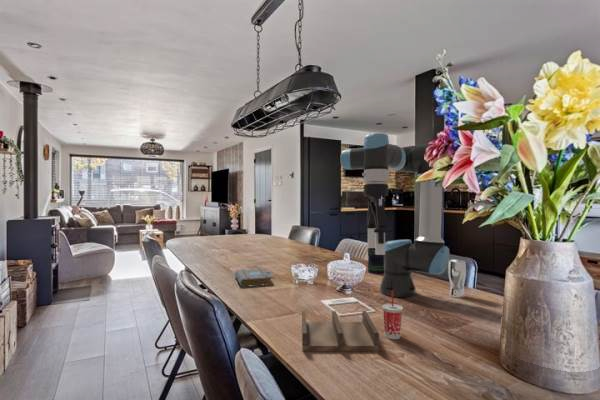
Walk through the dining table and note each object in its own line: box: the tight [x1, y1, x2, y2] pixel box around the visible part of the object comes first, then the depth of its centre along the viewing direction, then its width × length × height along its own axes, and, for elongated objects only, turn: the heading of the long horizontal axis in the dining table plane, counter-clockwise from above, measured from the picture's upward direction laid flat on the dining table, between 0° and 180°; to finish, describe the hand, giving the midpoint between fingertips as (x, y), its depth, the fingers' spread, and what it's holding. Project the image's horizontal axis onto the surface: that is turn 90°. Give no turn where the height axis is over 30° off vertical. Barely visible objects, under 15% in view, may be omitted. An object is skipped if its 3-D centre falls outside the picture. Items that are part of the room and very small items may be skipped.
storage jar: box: [367, 247, 384, 275], centre depth 192 cm, size 10×10×15 cm
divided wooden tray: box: [301, 310, 380, 352], centre depth 103 cm, size 21×18×5 cm
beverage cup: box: [381, 290, 404, 340], centre depth 104 cm, size 6×6×14 cm
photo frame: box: [320, 296, 376, 318], centre depth 132 cm, size 15×1×18 cm
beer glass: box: [447, 258, 467, 299], centre depth 146 cm, size 7×7×15 cm
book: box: [234, 267, 274, 287], centre depth 173 cm, size 21×16×5 cm
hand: (375, 251), depth 108 cm, fingers open, 13 cm apart
